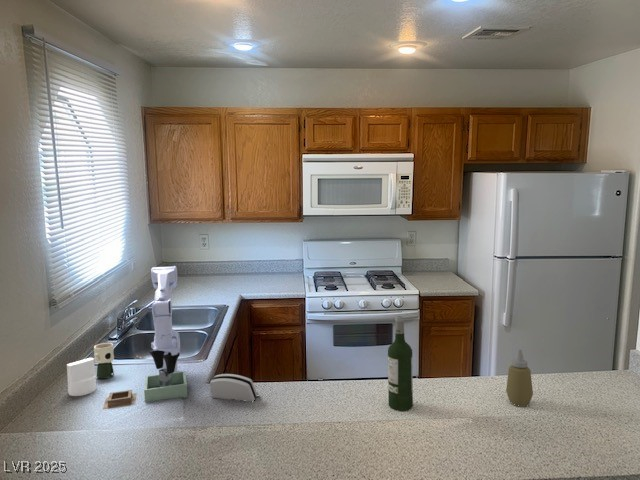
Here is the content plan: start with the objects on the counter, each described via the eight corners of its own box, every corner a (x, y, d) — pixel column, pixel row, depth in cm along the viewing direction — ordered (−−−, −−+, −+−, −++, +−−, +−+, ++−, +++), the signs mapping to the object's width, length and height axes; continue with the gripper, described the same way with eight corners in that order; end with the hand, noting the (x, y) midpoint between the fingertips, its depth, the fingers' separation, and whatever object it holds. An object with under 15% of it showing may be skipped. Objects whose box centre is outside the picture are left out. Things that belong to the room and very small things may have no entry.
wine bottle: (384, 403, 150) (382, 315, 148) (403, 399, 153) (403, 312, 151) (397, 413, 143) (395, 320, 141) (417, 408, 146) (416, 317, 144)
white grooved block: (88, 386, 171) (86, 356, 170) (101, 392, 166) (99, 360, 165) (63, 395, 164) (61, 363, 163) (76, 400, 158) (74, 367, 157)
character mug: (105, 382, 175) (103, 349, 174) (88, 381, 176) (86, 349, 175) (121, 372, 185) (119, 341, 185) (105, 371, 187) (103, 341, 186)
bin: (146, 389, 167) (145, 376, 167) (185, 383, 172) (184, 370, 171) (144, 404, 154) (144, 390, 154) (187, 397, 158) (186, 384, 158)
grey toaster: (260, 396, 159) (255, 373, 155) (254, 405, 155) (249, 383, 151) (218, 391, 164) (212, 369, 160) (211, 400, 159) (205, 378, 156)
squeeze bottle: (512, 396, 154) (512, 344, 153) (536, 403, 148) (537, 349, 147) (501, 403, 148) (502, 350, 147) (527, 411, 142) (527, 355, 141)
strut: (168, 388, 165) (167, 367, 165) (173, 391, 163) (172, 370, 162) (158, 392, 163) (156, 370, 162) (163, 395, 160) (162, 373, 159)
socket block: (106, 400, 158) (105, 392, 158) (136, 395, 161) (136, 387, 161) (102, 412, 149) (102, 403, 148) (135, 407, 152) (134, 398, 152)
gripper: (142, 332, 163) (144, 369, 164) (163, 339, 153) (165, 378, 155) (160, 328, 168) (162, 364, 169) (182, 335, 159) (183, 372, 160)
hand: (165, 370), depth 162 cm, fingers open, 7 cm apart
